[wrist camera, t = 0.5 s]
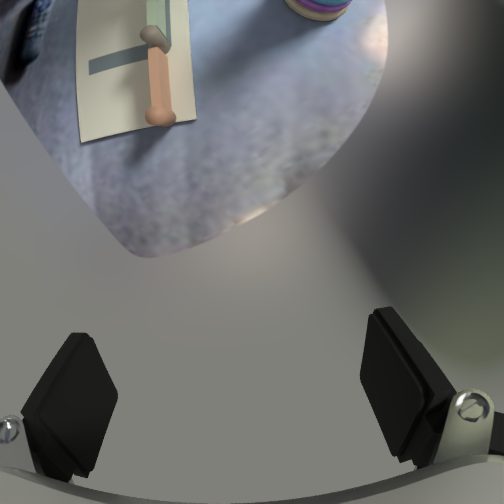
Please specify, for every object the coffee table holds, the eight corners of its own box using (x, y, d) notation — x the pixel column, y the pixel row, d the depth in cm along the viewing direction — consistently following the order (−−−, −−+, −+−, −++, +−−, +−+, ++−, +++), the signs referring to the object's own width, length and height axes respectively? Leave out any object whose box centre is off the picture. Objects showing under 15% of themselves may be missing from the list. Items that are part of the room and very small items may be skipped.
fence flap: (154, 42, 26) (139, 27, 21) (170, 39, 26) (157, 22, 21) (160, 128, 30) (145, 126, 25) (177, 125, 30) (164, 123, 25)
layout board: (80, 1, 23) (78, 0, 22) (186, -29, 23) (185, -31, 23) (83, 142, 30) (81, 142, 30) (196, 119, 30) (196, 118, 30)
